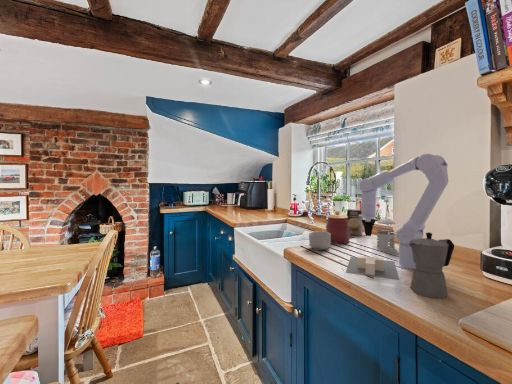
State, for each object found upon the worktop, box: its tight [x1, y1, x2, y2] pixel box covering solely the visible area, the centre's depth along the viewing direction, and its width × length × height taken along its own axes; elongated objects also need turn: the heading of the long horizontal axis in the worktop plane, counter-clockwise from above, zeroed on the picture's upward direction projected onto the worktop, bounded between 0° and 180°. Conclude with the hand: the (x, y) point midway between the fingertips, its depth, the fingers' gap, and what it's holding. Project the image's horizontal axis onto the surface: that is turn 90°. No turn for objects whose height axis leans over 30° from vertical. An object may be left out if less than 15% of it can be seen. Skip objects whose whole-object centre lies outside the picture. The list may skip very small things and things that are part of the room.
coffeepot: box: [409, 232, 455, 299], centre depth 74 cm, size 15×9×18 cm, turn 101°
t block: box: [356, 255, 385, 275], centre depth 91 cm, size 9×9×4 cm
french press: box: [374, 199, 398, 252], centre depth 122 cm, size 10×12×25 cm
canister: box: [325, 210, 351, 244], centre depth 141 cm, size 13×13×18 cm
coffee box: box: [346, 208, 364, 236], centre depth 160 cm, size 9×6×16 cm
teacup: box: [308, 230, 331, 251], centre depth 126 cm, size 14×11×8 cm
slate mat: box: [345, 256, 400, 281], centre depth 96 cm, size 17×22×1 cm
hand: (368, 235), depth 111 cm, fingers closed
